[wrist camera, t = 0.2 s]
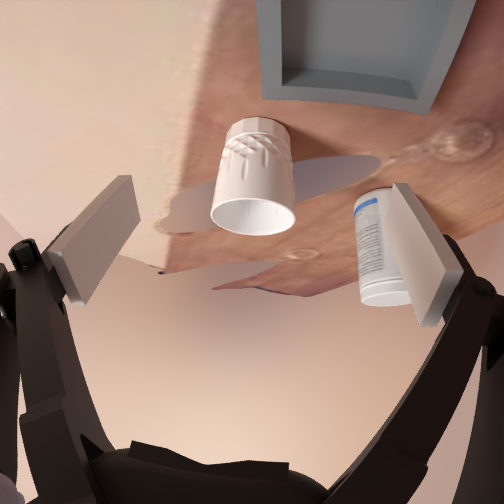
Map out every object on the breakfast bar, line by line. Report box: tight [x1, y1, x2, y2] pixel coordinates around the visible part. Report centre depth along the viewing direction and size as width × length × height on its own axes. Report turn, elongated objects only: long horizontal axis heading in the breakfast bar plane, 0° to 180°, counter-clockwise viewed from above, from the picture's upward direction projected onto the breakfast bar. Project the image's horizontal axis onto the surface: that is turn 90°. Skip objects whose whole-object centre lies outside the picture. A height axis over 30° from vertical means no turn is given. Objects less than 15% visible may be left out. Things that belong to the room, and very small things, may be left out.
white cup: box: [211, 117, 296, 235], centre depth 31 cm, size 8×8×10 cm
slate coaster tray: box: [256, 0, 476, 115], centre depth 17 cm, size 14×14×4 cm
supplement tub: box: [354, 188, 411, 306], centre depth 41 cm, size 10×10×15 cm
